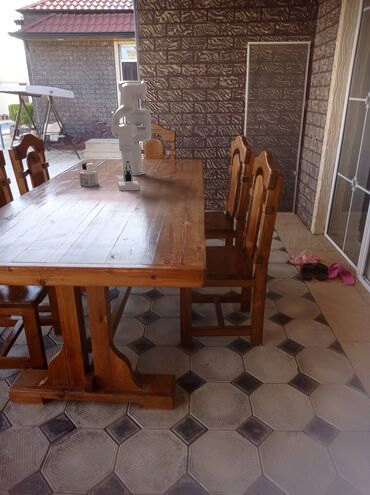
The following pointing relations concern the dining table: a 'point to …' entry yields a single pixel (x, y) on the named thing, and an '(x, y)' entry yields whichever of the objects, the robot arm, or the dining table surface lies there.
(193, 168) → the dining table surface
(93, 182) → the container
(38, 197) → the dining table surface
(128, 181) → the blue block
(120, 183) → the base tile
